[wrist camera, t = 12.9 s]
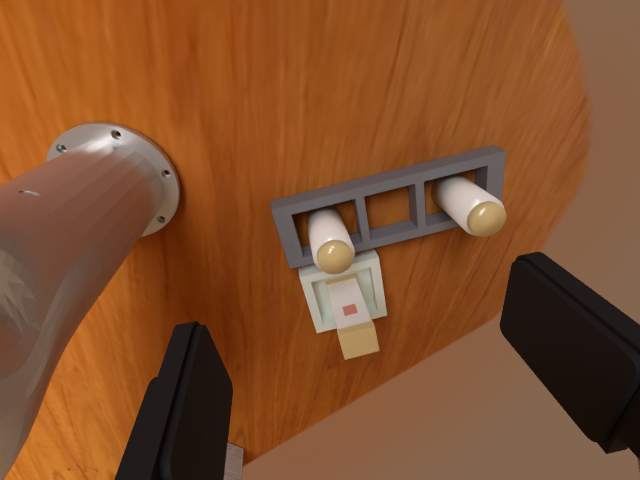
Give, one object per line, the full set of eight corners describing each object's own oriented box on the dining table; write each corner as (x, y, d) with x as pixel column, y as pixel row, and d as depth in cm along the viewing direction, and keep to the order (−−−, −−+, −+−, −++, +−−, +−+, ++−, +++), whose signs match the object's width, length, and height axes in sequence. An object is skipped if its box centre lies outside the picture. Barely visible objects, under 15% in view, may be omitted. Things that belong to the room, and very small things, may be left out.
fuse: (325, 281, 45) (338, 335, 36) (354, 273, 45) (374, 326, 36) (331, 303, 47) (344, 359, 38) (359, 295, 47) (379, 350, 38)
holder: (289, 258, 43) (290, 269, 41) (271, 200, 38) (271, 209, 36) (488, 207, 43) (500, 216, 41) (492, 145, 39) (505, 150, 36)
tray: (314, 320, 49) (316, 333, 47) (298, 266, 44) (299, 277, 42) (382, 303, 49) (387, 315, 47) (373, 247, 44) (378, 257, 42)
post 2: (431, 208, 42) (467, 244, 34) (430, 176, 40) (468, 207, 32) (464, 200, 42) (508, 234, 34) (465, 167, 40) (512, 196, 32)
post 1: (310, 239, 42) (319, 282, 34) (302, 208, 40) (309, 247, 32) (343, 230, 42) (359, 271, 34) (337, 200, 40) (353, 236, 32)
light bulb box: (176, 446, 61) (159, 518, 51) (200, 429, 59) (186, 499, 50) (222, 463, 65) (214, 531, 56) (245, 447, 64) (241, 515, 54)
